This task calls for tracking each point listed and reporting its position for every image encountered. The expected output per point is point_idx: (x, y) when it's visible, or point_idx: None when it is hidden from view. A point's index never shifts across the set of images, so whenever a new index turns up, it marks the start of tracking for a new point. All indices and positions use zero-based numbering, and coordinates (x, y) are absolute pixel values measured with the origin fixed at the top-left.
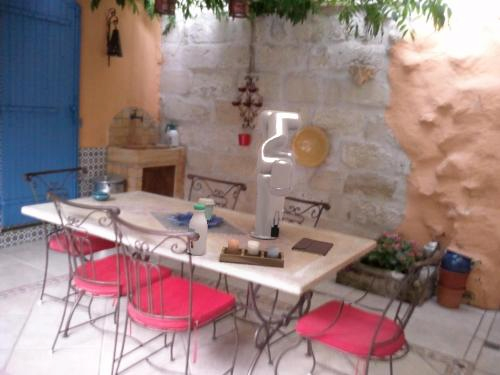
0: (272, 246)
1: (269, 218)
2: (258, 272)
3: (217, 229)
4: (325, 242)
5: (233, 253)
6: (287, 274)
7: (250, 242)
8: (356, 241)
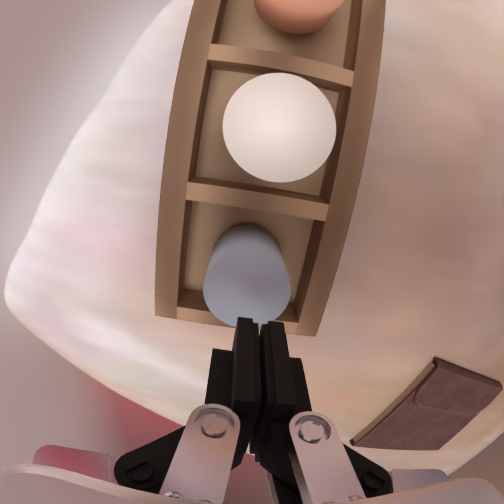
0: (283, 290)
1: (15, 492)
2: (72, 156)
3: None
4: (449, 437)
5: (349, 32)
6: (85, 291)
7: (256, 90)
8: (441, 469)
